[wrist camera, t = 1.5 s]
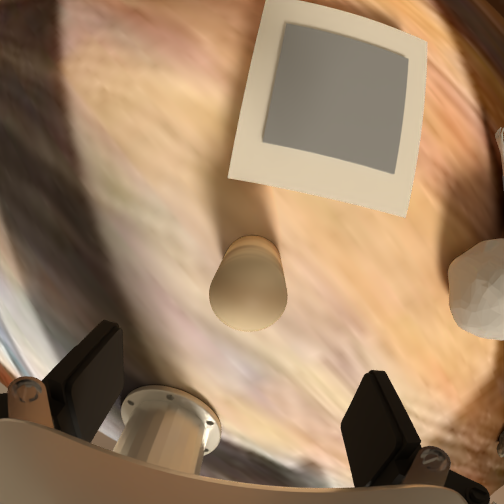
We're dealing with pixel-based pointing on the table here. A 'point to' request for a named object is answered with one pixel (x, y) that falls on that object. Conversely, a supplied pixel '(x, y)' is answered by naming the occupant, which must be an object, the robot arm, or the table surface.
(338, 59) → the plinth
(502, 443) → the stone
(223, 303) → the cylinder
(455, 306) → the toy
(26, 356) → the table surface
